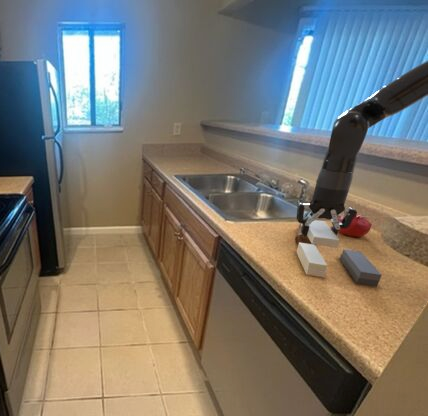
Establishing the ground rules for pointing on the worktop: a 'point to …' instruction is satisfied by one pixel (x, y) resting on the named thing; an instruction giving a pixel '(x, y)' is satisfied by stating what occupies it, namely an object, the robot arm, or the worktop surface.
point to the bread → (301, 237)
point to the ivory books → (311, 260)
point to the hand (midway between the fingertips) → (317, 237)
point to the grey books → (360, 268)
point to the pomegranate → (356, 226)
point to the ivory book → (322, 234)
